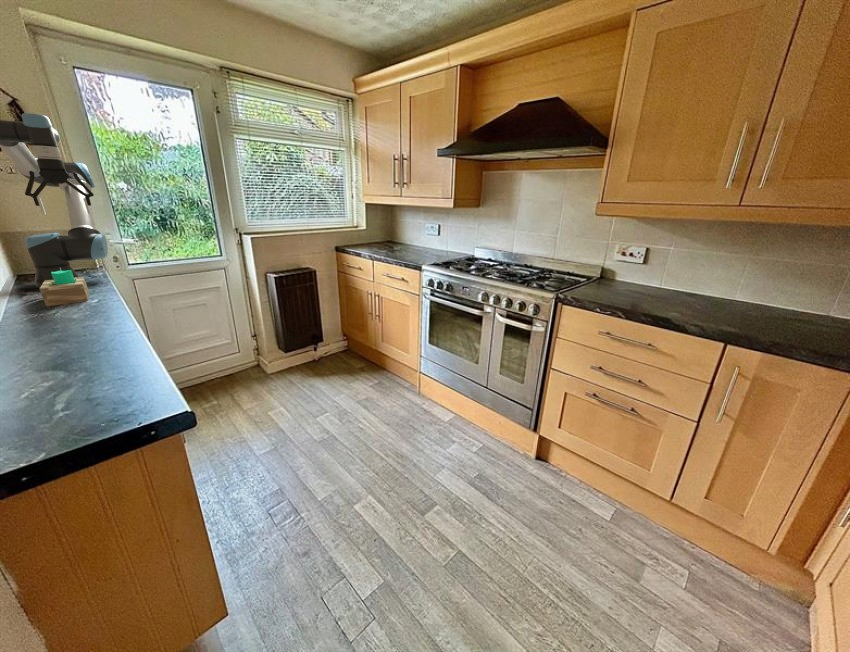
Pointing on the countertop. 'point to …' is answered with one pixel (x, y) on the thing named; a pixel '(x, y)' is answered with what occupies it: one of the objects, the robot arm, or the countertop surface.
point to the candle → (63, 277)
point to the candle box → (64, 292)
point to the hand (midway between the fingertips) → (67, 214)
